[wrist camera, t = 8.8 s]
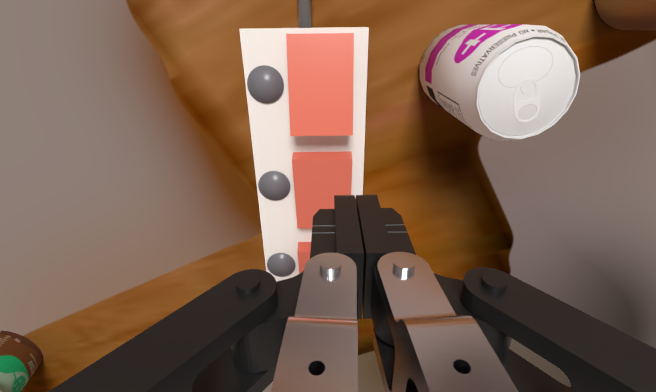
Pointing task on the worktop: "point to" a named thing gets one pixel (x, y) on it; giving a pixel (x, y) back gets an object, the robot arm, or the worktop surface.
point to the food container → (17, 361)
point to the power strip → (278, 146)
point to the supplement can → (501, 78)
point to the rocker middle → (319, 182)
